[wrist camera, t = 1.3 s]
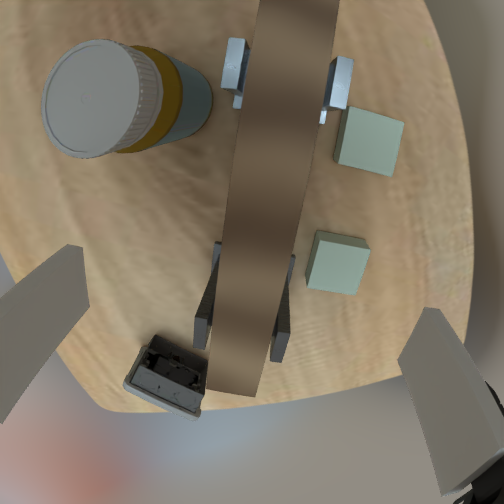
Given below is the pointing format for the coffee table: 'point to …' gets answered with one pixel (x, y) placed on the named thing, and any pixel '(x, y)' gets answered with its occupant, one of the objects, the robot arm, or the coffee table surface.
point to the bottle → (121, 99)
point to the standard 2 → (238, 68)
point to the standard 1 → (207, 309)
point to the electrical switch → (169, 378)
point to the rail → (268, 183)
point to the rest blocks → (363, 157)
